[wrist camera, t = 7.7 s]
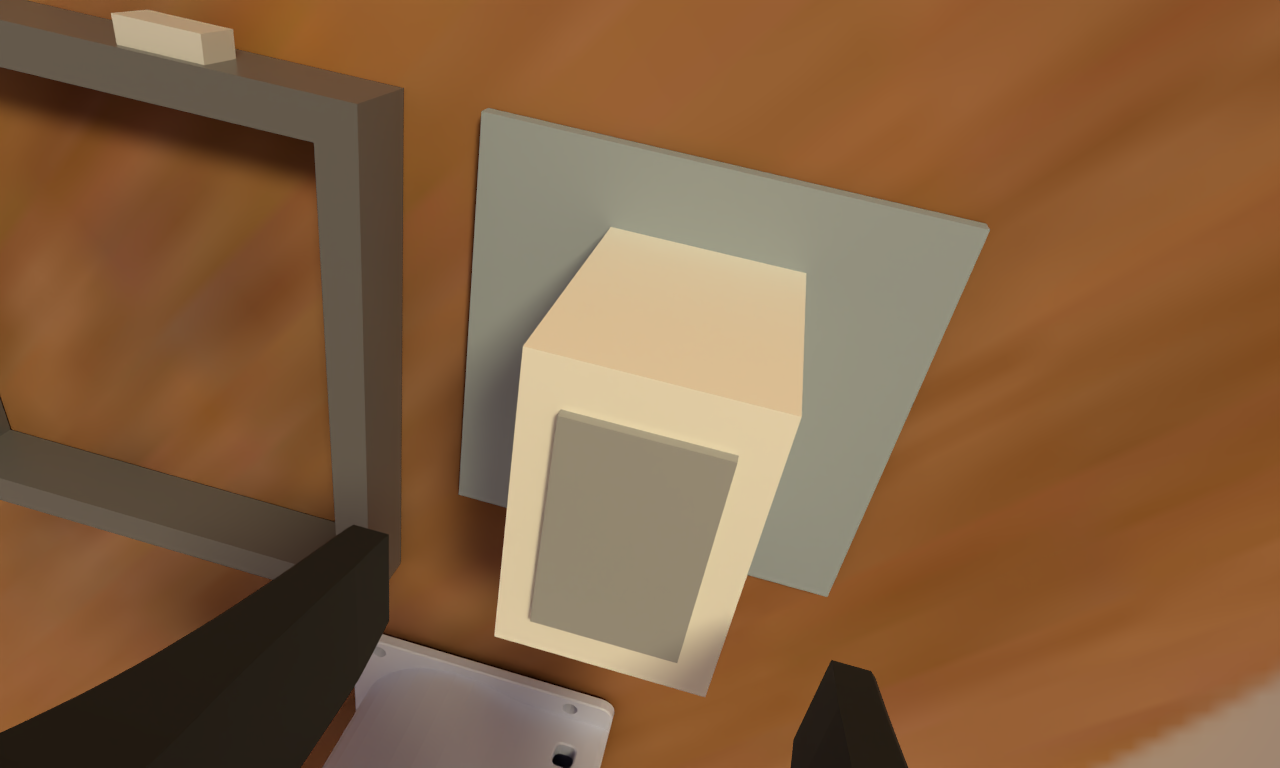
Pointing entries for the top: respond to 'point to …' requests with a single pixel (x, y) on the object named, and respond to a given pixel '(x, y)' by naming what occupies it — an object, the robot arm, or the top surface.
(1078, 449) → the top surface
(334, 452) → the frame
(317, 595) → the robot arm
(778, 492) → the slate mat
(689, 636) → the block
